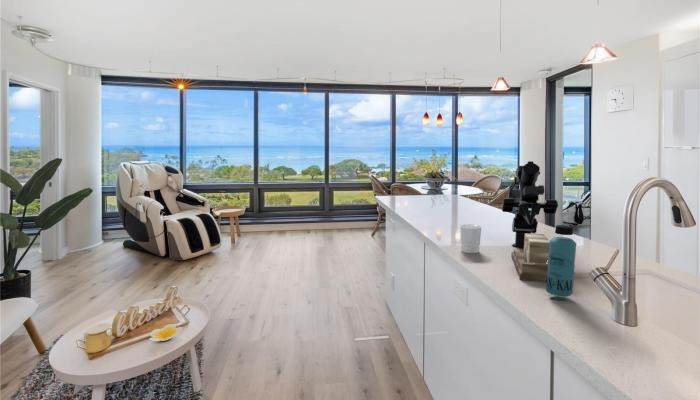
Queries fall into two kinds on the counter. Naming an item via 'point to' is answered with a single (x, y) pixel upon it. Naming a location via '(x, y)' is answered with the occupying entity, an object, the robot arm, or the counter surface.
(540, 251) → the tea box
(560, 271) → the beverage bottle
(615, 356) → the counter surface
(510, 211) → the robot arm
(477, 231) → the white cup
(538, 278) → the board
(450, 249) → the counter surface
